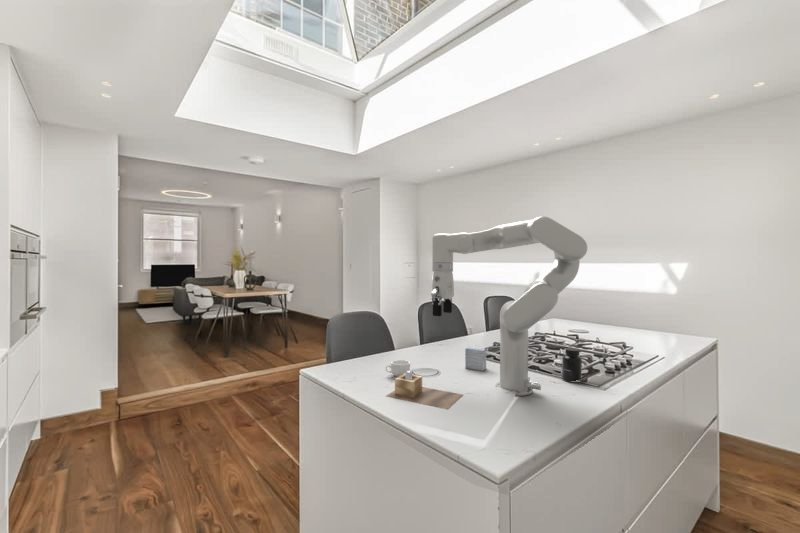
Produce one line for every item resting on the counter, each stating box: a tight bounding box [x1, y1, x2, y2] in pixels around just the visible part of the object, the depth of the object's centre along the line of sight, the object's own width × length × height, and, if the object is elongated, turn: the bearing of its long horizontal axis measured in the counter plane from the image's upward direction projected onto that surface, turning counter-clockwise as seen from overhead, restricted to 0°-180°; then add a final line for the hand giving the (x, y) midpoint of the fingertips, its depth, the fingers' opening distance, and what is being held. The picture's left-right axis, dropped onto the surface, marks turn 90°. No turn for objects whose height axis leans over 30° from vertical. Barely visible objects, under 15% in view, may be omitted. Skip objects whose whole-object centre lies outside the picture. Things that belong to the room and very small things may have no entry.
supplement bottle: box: [561, 347, 583, 382], centre depth 143 cm, size 7×7×12 cm
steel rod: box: [405, 371, 413, 380], centre depth 126 cm, size 2×2×7 cm
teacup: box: [385, 359, 411, 378], centre depth 149 cm, size 10×8×5 cm
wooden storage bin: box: [394, 374, 423, 397], centre depth 126 cm, size 7×7×5 cm
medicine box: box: [464, 346, 487, 372], centre depth 159 cm, size 8×4×9 cm, turn 58°
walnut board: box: [385, 386, 464, 410], centre depth 123 cm, size 22×14×2 cm, turn 61°
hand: (442, 314), depth 137 cm, fingers open, 9 cm apart
